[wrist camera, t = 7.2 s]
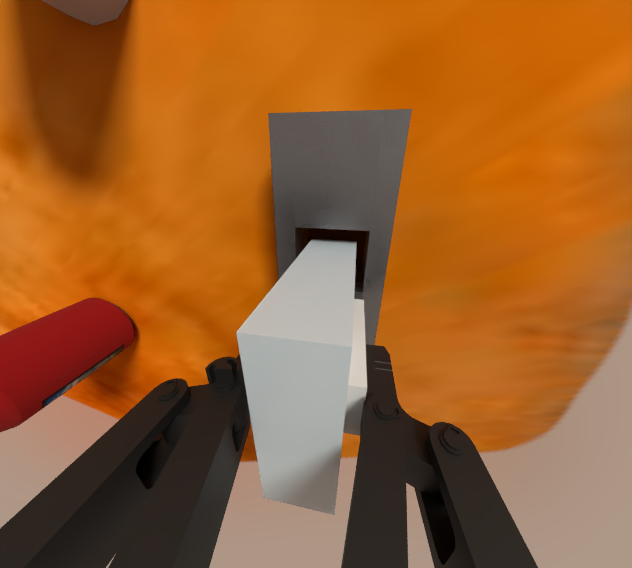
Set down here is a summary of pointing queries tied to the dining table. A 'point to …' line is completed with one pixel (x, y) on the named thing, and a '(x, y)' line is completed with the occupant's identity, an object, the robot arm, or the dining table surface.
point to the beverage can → (57, 355)
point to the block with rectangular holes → (339, 187)
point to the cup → (90, 9)
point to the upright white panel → (302, 374)
